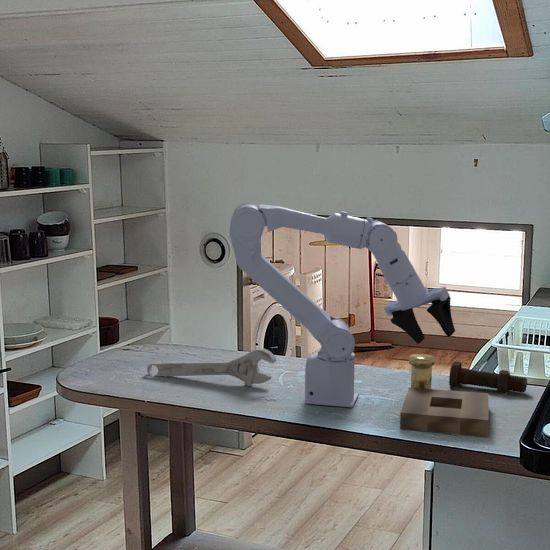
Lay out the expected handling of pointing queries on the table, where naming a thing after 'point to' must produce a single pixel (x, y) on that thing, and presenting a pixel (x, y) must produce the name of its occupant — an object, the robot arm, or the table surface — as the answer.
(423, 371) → the brass pin
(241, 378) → the wrench
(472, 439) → the table surface
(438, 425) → the socket plate
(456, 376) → the bolt
